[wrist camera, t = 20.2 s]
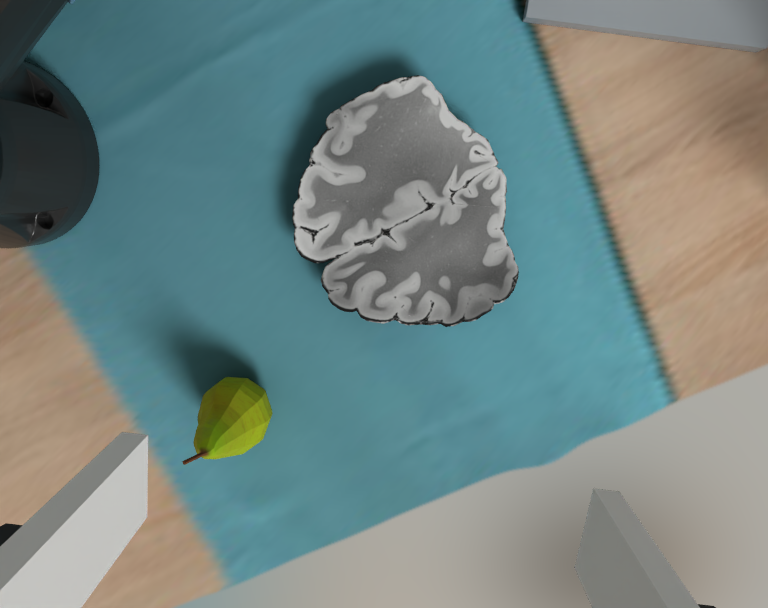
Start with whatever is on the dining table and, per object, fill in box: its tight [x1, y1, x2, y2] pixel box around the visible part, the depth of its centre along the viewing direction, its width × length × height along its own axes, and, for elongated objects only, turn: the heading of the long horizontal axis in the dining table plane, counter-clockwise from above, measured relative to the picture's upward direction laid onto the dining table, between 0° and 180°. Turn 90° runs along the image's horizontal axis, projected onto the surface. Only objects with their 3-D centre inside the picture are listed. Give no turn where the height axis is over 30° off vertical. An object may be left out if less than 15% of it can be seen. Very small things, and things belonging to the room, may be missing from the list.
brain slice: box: [292, 75, 519, 327], centre depth 43 cm, size 20×17×3 cm
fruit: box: [183, 377, 272, 465], centre depth 43 cm, size 6×6×12 cm
